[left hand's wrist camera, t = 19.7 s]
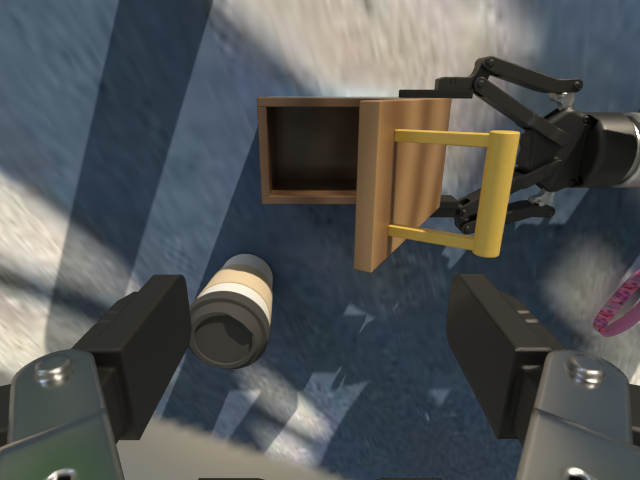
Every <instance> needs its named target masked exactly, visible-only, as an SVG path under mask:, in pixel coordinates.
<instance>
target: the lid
mask: <svg viewBox="0 0 640 480" xmlns="http://www.w3.org/2000/svg"><path fill="white" fill-rule="evenodd" d="M450 108H451V98H426V99H394V100H362V101H360V110H359V138H358V165H357V193H356V220H355V248H354V269H356V270H361V271H365V272H370V273H372V272H373V271H374V270H375V269H376V268H377V267H378V266H379V265H380V264H381V263H382V262H383V261H384V260H385V259H386V258H387V257H388V256H389V255H390V254H391V253H392V252H393V251H394V250H395V249H396V248H397V247H399V246H400V245H401V244H402V243H403V242H404V241H405V240H406V239H410V240H416V241H422V242H427V243H433V244H439V245H445V246H450V247H456V248H462V249H467V250H472V252H473V253H474V254H475V255H478V256H481V257H486V258H494V257H497V256H499V253H500V247H501V241H502V235H503V229H504V224H505V218H506V212H507V206H508V201H509V195H510V189H511V183H512V177H513V172H514V166H515V160H516V154H517V149H518V143H519V137H520V132H517V131H501V130H497V131H490V132H489V133H472V132H450V131H448V126H449V117H450ZM446 145H457V146H474V147H487V153H486V159H485V166H484V173H483V180H482V187H481V193H480V200H479V207H478V214H477V221H476V227H475V234H474V236H469V235H462V234H456V233H450V232H444V231H437V230H431V229H425V228H419V226H420V225H421V224H422V223H423V222H424V221H426V220H427V219H428V218H429V217H430V216H431V215H432V214H433V213H434V212H435V211H436V210H437V209H438V208H439V206H440V198H441V189H442V180H443V171H444V162H445V153H446Z"/></svg>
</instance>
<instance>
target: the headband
mask: <svg viewBox="0 0 640 480" xmlns="http://www.w3.org/2000/svg"><path fill="white" fill-rule="evenodd" d="M639 287H640V269H639V270H638V271H636V272H635V273H634V274H633V275H632V276H631V277H630V278H629V279H628V280H627V281H626V282H625V283H624V284H623V285H622V286H621V287H620V288H619V290H618V291H617V292H616V293H615V294H614V295H613V296H612V298H611V299H610V300H609V301H608V302H607V303H606V305H605V306H604V307H603V308H602V310H601V311H600V312H599V314H598V315H597V317H596V318H595V320H594V322H593V327H594V328H595V329H596V330H597V331H599V332H600V333H601V334H602V335H603V336H605V337H610V336H614V335H617V334H619V333H621V332H623V331H625V330H627V329H628V328H630V327H632V326H633V325H634V324H636V323H637V322H638V321H640V301H639V302H638V303H637V304H636V306H635V307H634V308H633V309H631V310H630V311H629V312H628V313H627V314H626V315H624V316H623V317H621V318H620V319H619V320H617V321H615V322H613V323H612V324H610V325H607V324H608V322H609V321H610V320H611V318H612V317H613V316H614V315H615V313H616V312H617V311H618V310H619V309H620V307H621V306H622V305H623V304H624V303H625V302H626V301H627V300H628V298H629V297H630V296H631V295H632V294H633V293H634V292H635V291H636V290H637V289H638V288H639ZM606 325H607V326H606Z"/></svg>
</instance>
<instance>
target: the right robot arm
mask: <svg viewBox="0 0 640 480" xmlns="http://www.w3.org/2000/svg"><path fill="white" fill-rule="evenodd" d="M489 75H491V76H494V77H497V78H499V79H502V80H505V81H508V82H511V83H514V84H517V85H520V86H522V87H525V88H528V89H531V90H534V91H537V92H541V93H549V94H548V97H549V99H550V100H551V101H553V102H556V103H557V105H558V108H557V109H555V110H554V111H552V112H551V113H549V114H548V115H546V116H545V117H542V116H540V115H538V114H536V113H534V112H532V111H531V110H530V109H528V108H527V107H525V106H524V105H522V104H521V103H520V102H518V101H517V100H515V99H514V98H513V97H511V96H510V95H508V94H507V93H505V92H504V91H503V90H501V89H500V88H498V87H497V86H495V85H494V84H493V83H491V82H490V81H488V77H489ZM582 87H583V82H582V80H581V79H564V80H559V79H556V78H553V77H551V76H548V75H545V74H542V73H539V72H537V71H534V70H531V69H528V68H525V67H522V66H520V65H517V64H514V63H511V62H508V61H505V60H503V59H500V58H497V57H494V56H488V57H484V58H480V59H478V60H477V61H476V62H475V68H474V70H473V72H472V74H471V75H470V76H468V77H441V78H438V79H436V80H435V90H399V98H472V96H473V94H475V95H476V96H477V97H479V98H480V99H482V100H483V101H485V102H486V103H488V104H489V105H491V106H492V107H493V108H495V109H496V110H498V111H499V112H501V113H502V114H504V115H505V116H506V117H508V118H509V119H511V120H512V121H514V122H515V124H516V125H518V126H519V127H521V128H522V129H524V130H525V132H524V134H521V139H520V148H521V149H520V152H519V154H518V157H517V162H516V164H517V165H518V167H516V168H514V172H513V177H512V183H511V189H510V194H512V193H514V192H516V191H518V190H520V189H525V188H528V187H530V186H532V185H534V184H536V185H537V186H538V187H539V188H541V191H540V193H538V194H537V195H533V196H530V197H529V198H528V200H523V201H517V202H513V203H509V204H508V206H507V212H506V218H505V224H508V223H511V222H515V221H519V220H522V219H526V218H530V217H546V218H549V217H552V216H553V215H554V214H555V209H554V208H553V207H551V204H552V200H553V197H554V193H555V192H557V191H559V190H561V189H563V188H569V187H570V188H606V187H613V188H640V113H623V114H621V113H581V112H579V111H577V110H575V109H574V108H573V105H574V98H575V92H578V91H580V90H581V89H582ZM480 193H481V188H480V189H478V190H476V191H475V192H473V193H471V194H469V195H467V196H465V197H463V198H461V199H460V200H456V199H455V198H454V197H453V196H451V195H441V198H440V206H439V208H438V209H437V210H436V211H435V212H434V213H433V214H432V215H431V216H430V217H454V219H455V226H456V227H457V228H458V229H459V230H460V231H461V232H462V233H464V234H471V233H475V227H476V221H477V214H478V207H479V200H480ZM476 212H477V213H476Z"/></svg>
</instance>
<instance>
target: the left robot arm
mask: <svg viewBox="0 0 640 480" xmlns="http://www.w3.org/2000/svg"><path fill="white" fill-rule="evenodd" d="M191 329H192V326H191V317H190V309H189V301H188V294H187V286H186V281H185V278H184V276H183V275H153V276H152V277H151V278H150V279H149V281H148V282H147V283H146V284H145V285H144V286H143V287H142V288H141V289H140V290H139V291H138V292H133V293H131V294H129V295H127V296H126V297H124V298H122V299H120V300H119V301H117V302H116V303H115V304H114V305H113V306H112V307H111V308H110V309H109V310H108V311H107V314H104V315H103V316H102V317H101V318H100V320H99V321H98V324H95V325H94V326H93V327H92V328H91V329H90V330H89V331H88V332H87V333H86V334H85V335H84V336H83V337H82V338H81V339H80V340H79V341H78V342H77V343H76V344H75V345H74V346H73V347H72V348H71V349H70V350H63V351H58V352H54V353H51V354H48V355H45V356H42V357H40V358H38V359H36V360H34V361H32V362H30V363H29V364H27V365H26V366H24V367H23V368H22V369H20V370H19V371H18V372H17V373H16V375H15V376H14V377H13V379H12V381H11V384H9V385H5V386H0V480H125V479H124V475H123V471H122V467H121V463H120V459H119V455H118V451H117V447H116V444H117V442H118V440H140V438H141V436H142V434H143V432H144V430H145V428H146V426H147V424H148V423H149V421H150V419H151V417H152V415H153V413H154V411H155V409H156V407H157V405H158V403H159V401H160V399H161V398H162V396H163V394H164V392H165V390H166V388H167V386H168V384H169V382H170V380H171V378H172V376H173V375H174V373H175V371H176V369H177V367H178V365H179V363H180V361H181V359H182V357H183V355H184V353H185V351H186V350H187V348H188V345H189V343H190V339H191ZM446 330H447V338H448V342H449V345H450V347H451V349H452V351H453V353H454V355H455V357H456V359H457V361H458V363H459V365H460V367H461V369H462V371H463V372H464V374H465V376H466V378H467V380H468V382H469V384H470V386H471V388H472V390H473V392H474V394H475V396H476V398H477V400H478V402H479V404H480V406H481V407H482V409H483V411H484V413H485V415H486V417H487V419H488V421H489V423H490V425H491V427H492V429H493V431H494V433H495V435H496V437H497V439H518V440H519V441H520V443H521V445H522V447H523V451H522V455H521V459H520V463H519V467H518V471H517V475H516V479H515V480H640V386H638V385H633V384H629V381H628V379H627V377H626V376H625V375H624V373H623V372H622V371H621V370H620V369H618V368H617V367H616V366H614V365H613V364H611V363H610V362H608V361H606V360H604V359H602V358H600V357H598V356H595V355H592V354H589V353H586V352H582V351H577V350H570V349H566V348H565V347H564V346H563V345H562V343H561V342H560V341H559V340H558V339H557V338H556V337H555V336H554V335H553V334H552V333H551V332H550V331H549V330H548V329H547V328H546V327H545V326H544V325H543V324H542V323H539V320H538V319H537V318H536V317H535V316H534V314H533V313H530V310H529V309H528V308H527V307H526V306H525V305H524V304H523V303H522V302H521V301H520V300H518V299H516V298H515V297H513V296H511V295H509V294H508V293H506V292H504V291H499V290H498V289H497V288H496V287H495V286H494V285H493V284H492V283H491V282H490V280H489V279H488V278H487V277H486V276H485V275H483V274H456V275H454V277H453V280H452V284H451V292H450V300H449V308H448V316H447V324H446ZM198 480H263V479H259V478H199V479H198ZM377 480H442V479H441V478H381V479H377Z"/></svg>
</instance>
